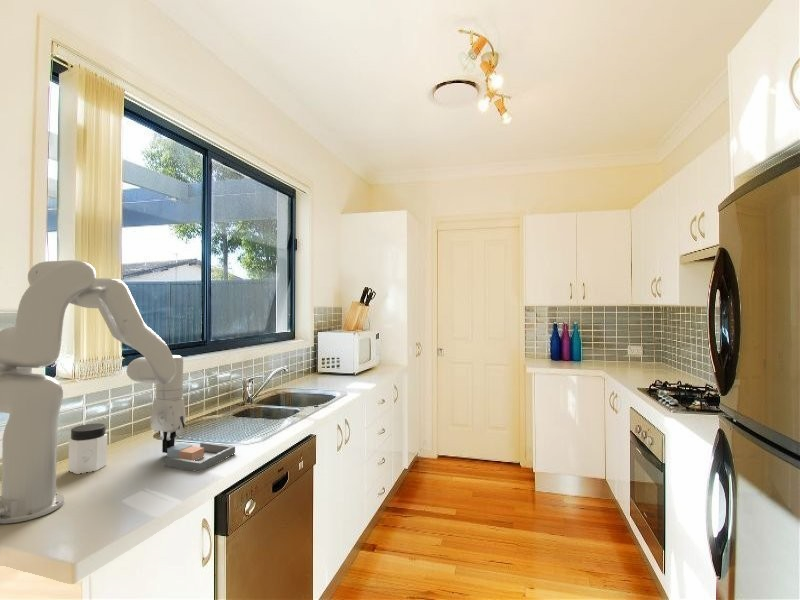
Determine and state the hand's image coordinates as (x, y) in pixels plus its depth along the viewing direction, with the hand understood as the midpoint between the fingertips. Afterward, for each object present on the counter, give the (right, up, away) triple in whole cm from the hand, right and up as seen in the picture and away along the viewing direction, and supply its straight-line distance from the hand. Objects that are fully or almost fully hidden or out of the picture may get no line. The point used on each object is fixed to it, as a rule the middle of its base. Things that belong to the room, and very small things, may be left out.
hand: (168, 451), depth 132 cm
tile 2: (+9, -1, -3) cm, 9 cm away
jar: (-17, -1, -11) cm, 21 cm away
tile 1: (+4, -1, -1) cm, 4 cm away
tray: (+12, -1, -4) cm, 13 cm away
